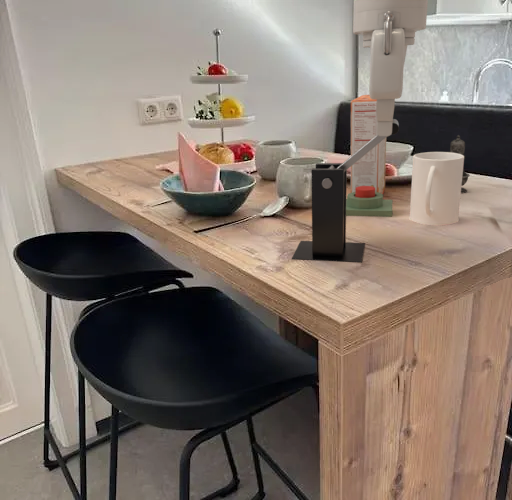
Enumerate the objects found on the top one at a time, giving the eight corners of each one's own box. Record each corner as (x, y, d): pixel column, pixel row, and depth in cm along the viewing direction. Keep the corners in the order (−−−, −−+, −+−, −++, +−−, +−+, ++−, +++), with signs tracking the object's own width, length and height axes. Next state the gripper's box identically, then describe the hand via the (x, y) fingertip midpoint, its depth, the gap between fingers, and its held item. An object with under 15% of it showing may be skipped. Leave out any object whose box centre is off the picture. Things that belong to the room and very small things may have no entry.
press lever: (403, 127, 68) (391, 114, 68) (403, 132, 64) (391, 117, 64) (329, 187, 74) (318, 175, 74) (325, 195, 69) (314, 182, 69)
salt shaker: (441, 187, 113) (445, 133, 109) (469, 188, 110) (474, 133, 106) (437, 193, 108) (442, 136, 104) (467, 194, 106) (472, 137, 101)
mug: (446, 240, 80) (453, 165, 76) (394, 232, 84) (398, 162, 80) (464, 220, 89) (471, 152, 85) (416, 215, 93) (420, 150, 89)
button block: (391, 210, 97) (392, 190, 96) (391, 222, 90) (392, 201, 88) (340, 209, 100) (340, 189, 98) (335, 221, 92) (336, 200, 91)
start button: (375, 194, 95) (375, 185, 94) (374, 199, 91) (374, 190, 91) (355, 194, 96) (356, 185, 95) (354, 199, 92) (354, 190, 92)
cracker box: (358, 190, 114) (360, 94, 107) (385, 191, 112) (389, 93, 105) (348, 206, 101) (349, 99, 94) (378, 207, 99) (382, 98, 92)
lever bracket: (364, 250, 77) (367, 161, 73) (361, 269, 70) (364, 172, 65) (300, 247, 80) (299, 161, 75) (291, 266, 73) (289, 172, 68)
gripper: (420, 6, 52) (412, 141, 56) (413, 21, 70) (407, 121, 75) (358, 11, 53) (355, 142, 58) (367, 24, 72) (364, 122, 77)
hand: (385, 130), depth 67 cm, fingers open, 8 cm apart
